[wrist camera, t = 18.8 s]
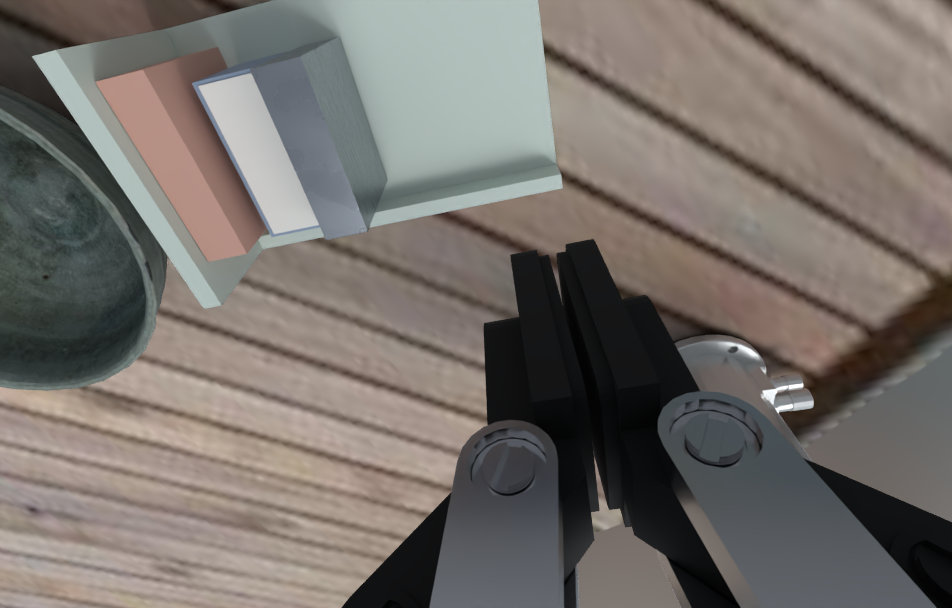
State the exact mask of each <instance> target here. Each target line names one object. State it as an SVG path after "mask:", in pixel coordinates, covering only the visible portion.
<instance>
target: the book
mask: <svg viewBox="0 0 952 608" xmlns="http://www.w3.org/2000/svg"><path fill="white" fill-rule="evenodd" d="M288 52H289V51H288ZM285 53H287V52H284V53H280V54H276V55H272V56H268V57H264V58H260V59H256V60H252V61H248V62H244V63H240V64H237V65H235V66H232V67H230V68H227V69H225V70H222V71H220V72H217V73H215V74H213V75H210V76H208V77H205V78H203V79H200V80H198V81H195V82H193V83H192V85H193V87H194V89H195V91H196V93H197V95H198V97H199V98H200V100H201V102H202V104H203V106H204V108H205V110H206V112H207V114H208V116H209V118H210V120H211V122H212V123H213V125H214V127H215V129H216V131H217V133H218V135H219V137H220V139H221V141H222V143H223V145H224V147H225V148H226V150H227V152H228V154H229V156H230V158H231V160H232V162H233V164H234V166H235V168H236V170H237V172H238V173H239V175H240V177H241V179H242V181H243V183H244V185H245V187H246V189H247V191H248V193H249V195H250V197H251V199H252V200H253V202H254V204H255V206H256V208H257V210H258V212H259V214H260V216H261V218H262V220H263V222H264V224H265V225H266V227H267V229H268V231H269V233H270V235H271V237H275V236H280V235H285V234H290V233H295V232H300V231H305V230H309V229H314V228H319V227H320V226H319V223H318V221H317V219H316V217H315V215H314V212H313V210H312V208H311V206H310V203H309V201H308V199H307V197H306V194H305V192H304V190H303V188H302V185H301V183H300V181H299V179H298V176H297V174H296V172H295V170H294V167H293V165H292V163H291V161H290V158H289V156H288V154H287V152H286V150H285V147H284V145H283V143H282V141H281V138H280V136H279V134H278V132H277V129H276V127H275V125H274V123H273V120H272V118H271V116H270V114H269V111H268V109H267V107H266V105H265V102H264V100H263V98H262V96H261V93H260V91H259V89H258V87H257V85H256V82H255V80H254V78H253V76H252V73H251V71H250V69H251V68H253V67H256V66H258V65H260V64H262V63H265V62H267V61H269V60H271V59H273V58H276V57H278V56H280V55H282V54H285Z"/></svg>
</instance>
